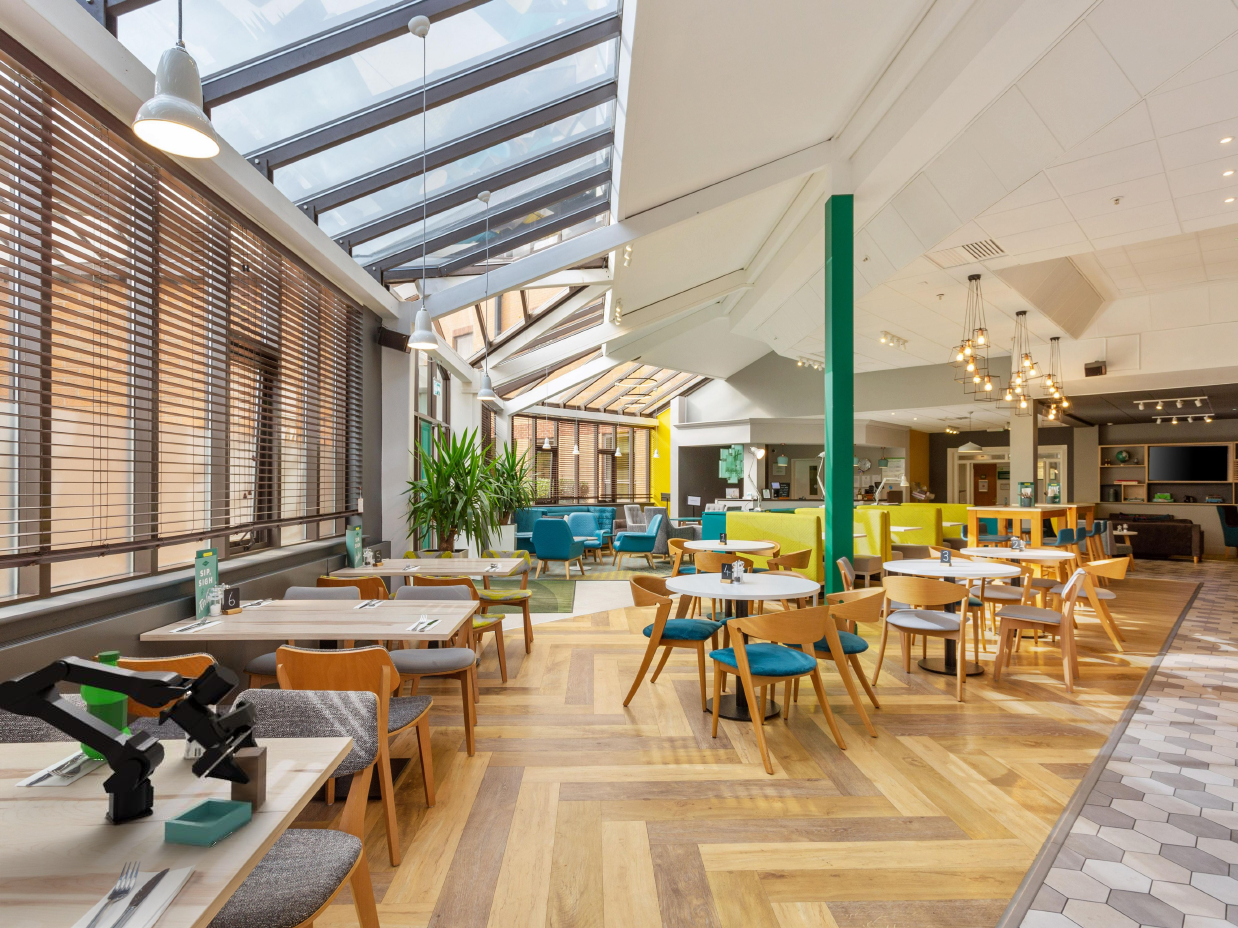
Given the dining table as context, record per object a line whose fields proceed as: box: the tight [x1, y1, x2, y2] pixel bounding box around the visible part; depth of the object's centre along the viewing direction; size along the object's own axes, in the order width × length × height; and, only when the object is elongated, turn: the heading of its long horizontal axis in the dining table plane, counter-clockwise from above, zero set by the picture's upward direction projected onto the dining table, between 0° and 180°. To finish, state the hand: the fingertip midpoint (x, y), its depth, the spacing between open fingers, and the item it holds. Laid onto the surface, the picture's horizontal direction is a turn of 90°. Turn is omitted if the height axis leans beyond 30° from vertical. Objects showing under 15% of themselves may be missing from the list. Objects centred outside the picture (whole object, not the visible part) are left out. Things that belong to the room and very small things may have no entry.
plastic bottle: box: [80, 650, 132, 760], centre depth 165 cm, size 10×10×25 cm
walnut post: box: [230, 746, 268, 812], centre depth 139 cm, size 5×5×11 cm
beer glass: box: [183, 691, 217, 760], centre depth 166 cm, size 7×7×15 cm
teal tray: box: [163, 797, 252, 847], centre depth 129 cm, size 10×10×4 cm
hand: (256, 772), depth 140 cm, fingers open, 9 cm apart
